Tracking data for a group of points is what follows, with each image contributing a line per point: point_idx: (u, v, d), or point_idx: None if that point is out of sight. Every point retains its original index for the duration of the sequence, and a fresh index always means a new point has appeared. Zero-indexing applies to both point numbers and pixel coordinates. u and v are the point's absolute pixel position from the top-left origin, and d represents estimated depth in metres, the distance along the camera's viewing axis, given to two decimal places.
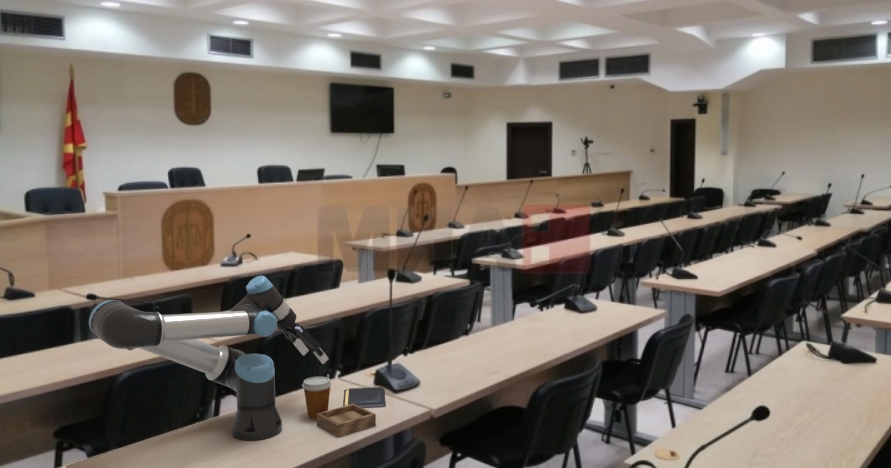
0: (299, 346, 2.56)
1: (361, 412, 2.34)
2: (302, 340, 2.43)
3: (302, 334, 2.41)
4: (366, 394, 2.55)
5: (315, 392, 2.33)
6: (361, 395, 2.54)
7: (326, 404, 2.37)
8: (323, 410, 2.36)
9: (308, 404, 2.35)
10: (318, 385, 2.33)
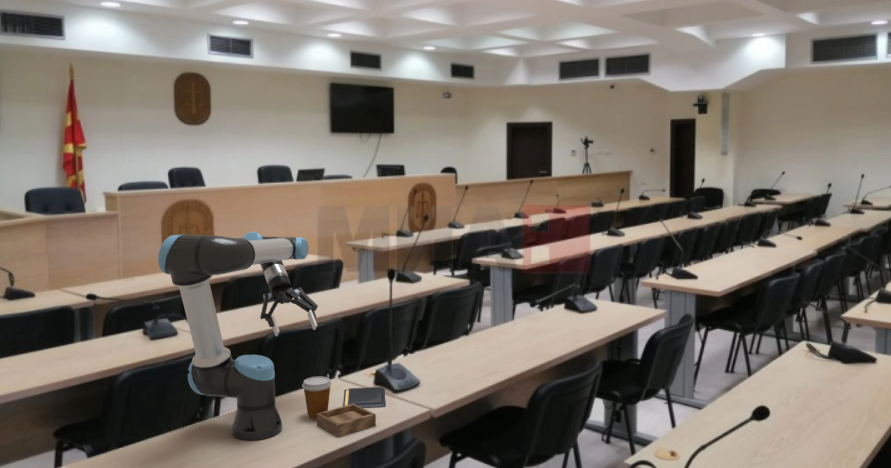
0: None
1: (361, 412, 2.34)
2: (300, 300, 2.50)
3: None
4: (366, 394, 2.55)
5: (315, 392, 2.33)
6: (361, 395, 2.54)
7: (326, 404, 2.37)
8: (323, 410, 2.36)
9: (308, 404, 2.35)
10: (318, 385, 2.33)
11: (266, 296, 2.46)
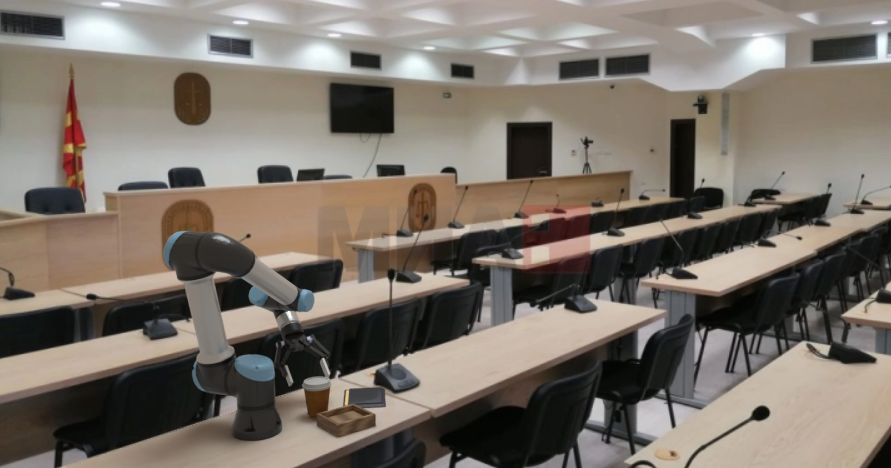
0: None
1: (361, 412, 2.34)
2: (313, 348, 2.50)
3: None
4: (366, 394, 2.55)
5: (315, 392, 2.33)
6: (361, 395, 2.54)
7: (326, 404, 2.37)
8: (323, 410, 2.36)
9: (308, 404, 2.35)
10: (318, 385, 2.33)
11: (279, 345, 2.45)
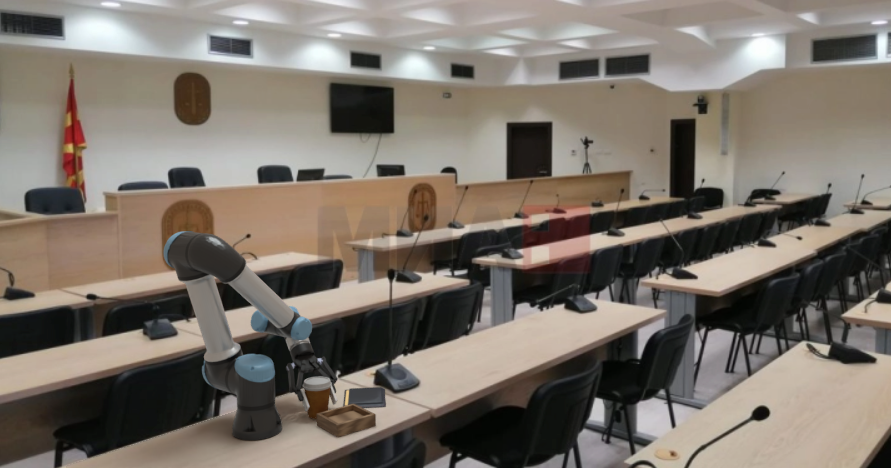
0: None
1: (361, 412, 2.34)
2: (322, 371, 2.43)
3: None
4: (366, 394, 2.55)
5: (316, 392, 2.33)
6: (361, 395, 2.54)
7: (326, 404, 2.37)
8: (323, 410, 2.36)
9: None
10: (318, 385, 2.33)
11: (290, 368, 2.39)
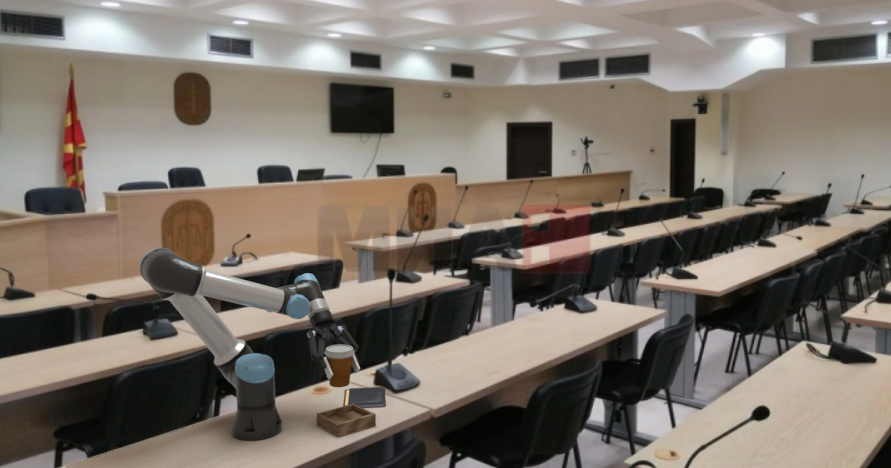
0: None
1: (361, 412, 2.34)
2: (343, 339, 2.37)
3: None
4: (366, 394, 2.55)
5: (339, 360, 2.28)
6: (361, 395, 2.54)
7: (349, 372, 2.31)
8: (346, 378, 2.31)
9: None
10: (342, 353, 2.28)
11: (312, 335, 2.32)
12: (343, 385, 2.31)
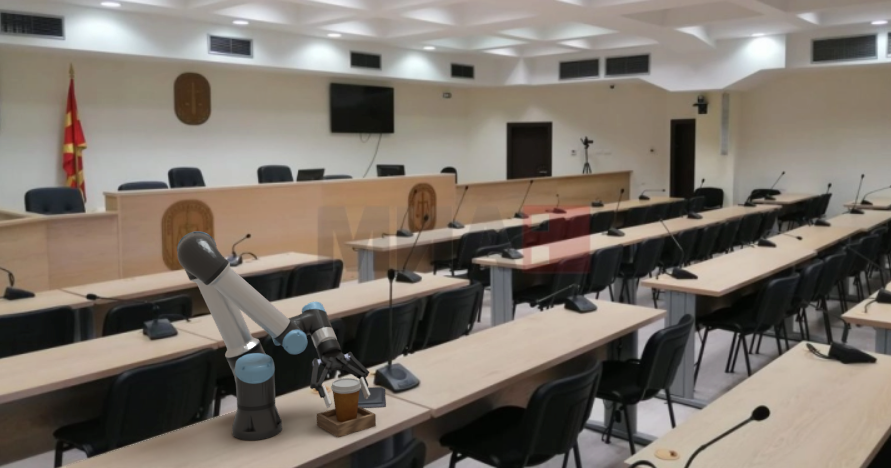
0: None
1: (361, 412, 2.34)
2: (351, 366, 2.34)
3: None
4: None
5: (345, 395, 2.25)
6: (361, 395, 2.54)
7: (355, 407, 2.28)
8: (352, 413, 2.27)
9: (337, 407, 2.27)
10: (347, 387, 2.25)
11: (316, 363, 2.30)
12: None
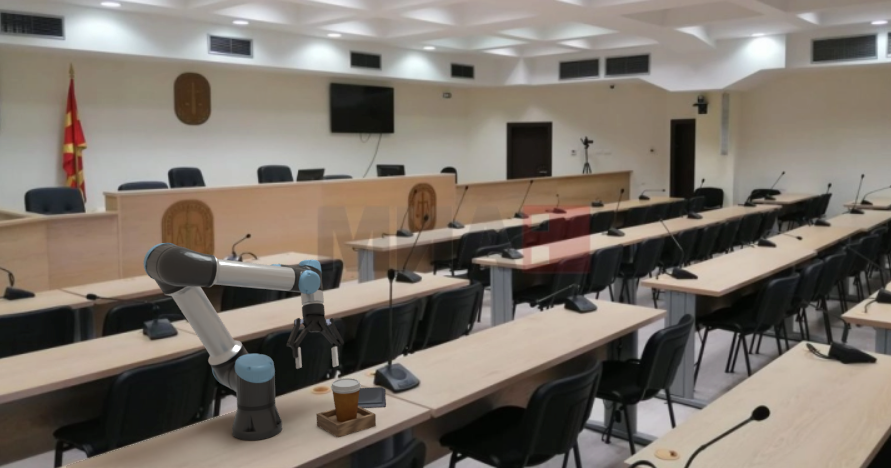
0: None
1: (361, 412, 2.34)
2: (329, 333, 2.45)
3: None
4: (367, 394, 2.55)
5: (345, 395, 2.25)
6: (362, 395, 2.54)
7: (355, 407, 2.28)
8: (352, 413, 2.27)
9: (337, 407, 2.27)
10: (347, 387, 2.25)
11: (298, 323, 2.39)
12: None
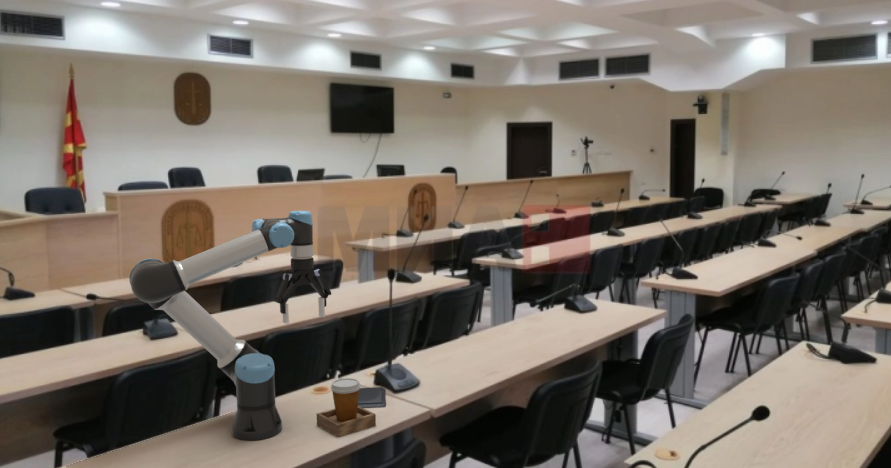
0: None
1: (361, 412, 2.34)
2: (317, 285, 2.43)
3: None
4: (367, 394, 2.55)
5: (344, 395, 2.25)
6: (362, 395, 2.54)
7: (355, 407, 2.28)
8: (352, 413, 2.27)
9: (337, 407, 2.27)
10: (347, 387, 2.25)
11: (286, 280, 2.36)
12: None
